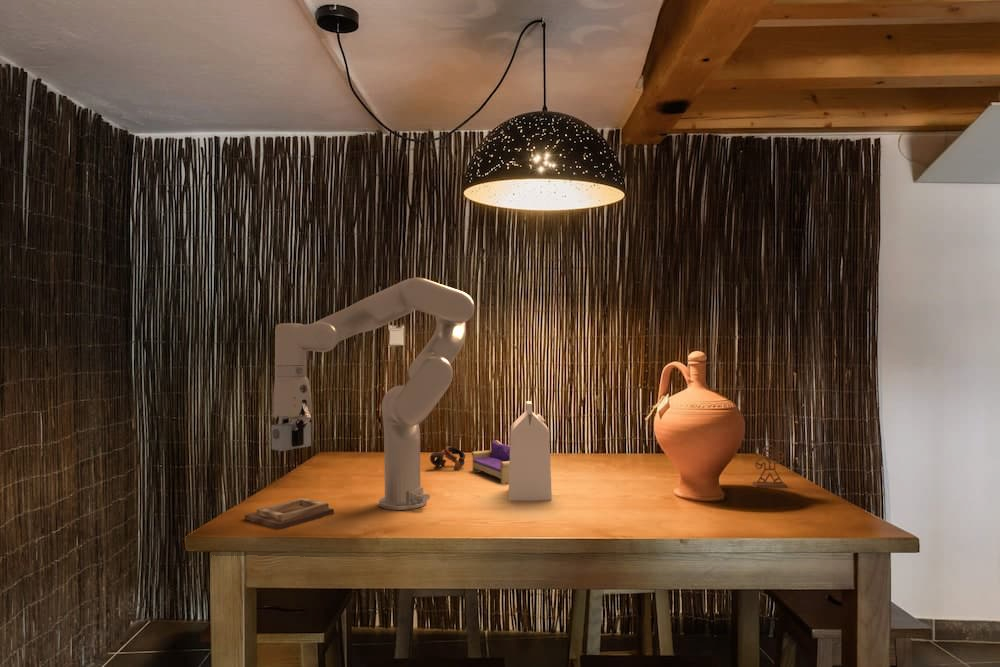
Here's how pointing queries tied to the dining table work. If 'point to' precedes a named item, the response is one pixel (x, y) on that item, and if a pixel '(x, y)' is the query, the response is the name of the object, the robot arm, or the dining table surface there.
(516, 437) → the milk
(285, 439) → the grey rectangular block
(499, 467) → the toy sofa
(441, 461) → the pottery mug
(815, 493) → the dining table surface
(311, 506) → the jig
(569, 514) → the dining table surface
